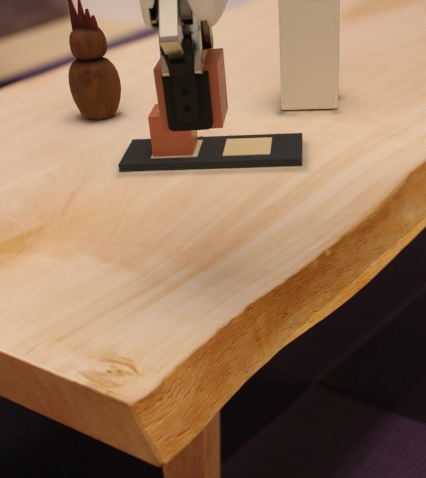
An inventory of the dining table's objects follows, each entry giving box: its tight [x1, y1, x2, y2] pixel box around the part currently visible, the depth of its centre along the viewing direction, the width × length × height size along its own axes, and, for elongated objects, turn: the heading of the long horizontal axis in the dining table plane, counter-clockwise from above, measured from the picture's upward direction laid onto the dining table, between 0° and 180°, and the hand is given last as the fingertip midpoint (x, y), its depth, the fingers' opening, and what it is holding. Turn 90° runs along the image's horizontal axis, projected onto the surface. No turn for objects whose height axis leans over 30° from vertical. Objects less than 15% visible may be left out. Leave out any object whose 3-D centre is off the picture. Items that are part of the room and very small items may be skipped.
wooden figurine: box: [67, 0, 122, 120], centre depth 95 cm, size 7×6×15 cm
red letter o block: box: [147, 103, 199, 156], centre depth 83 cm, size 4×4×5 cm
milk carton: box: [277, 0, 341, 111], centre depth 92 cm, size 7×7×19 cm
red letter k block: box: [152, 47, 229, 131], centre depth 54 cm, size 4×4×5 cm
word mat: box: [118, 132, 303, 172], centre depth 84 cm, size 20×8×1 cm, turn 84°
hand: (195, 114), depth 55 cm, fingers closed on red letter k block, 4 cm apart
